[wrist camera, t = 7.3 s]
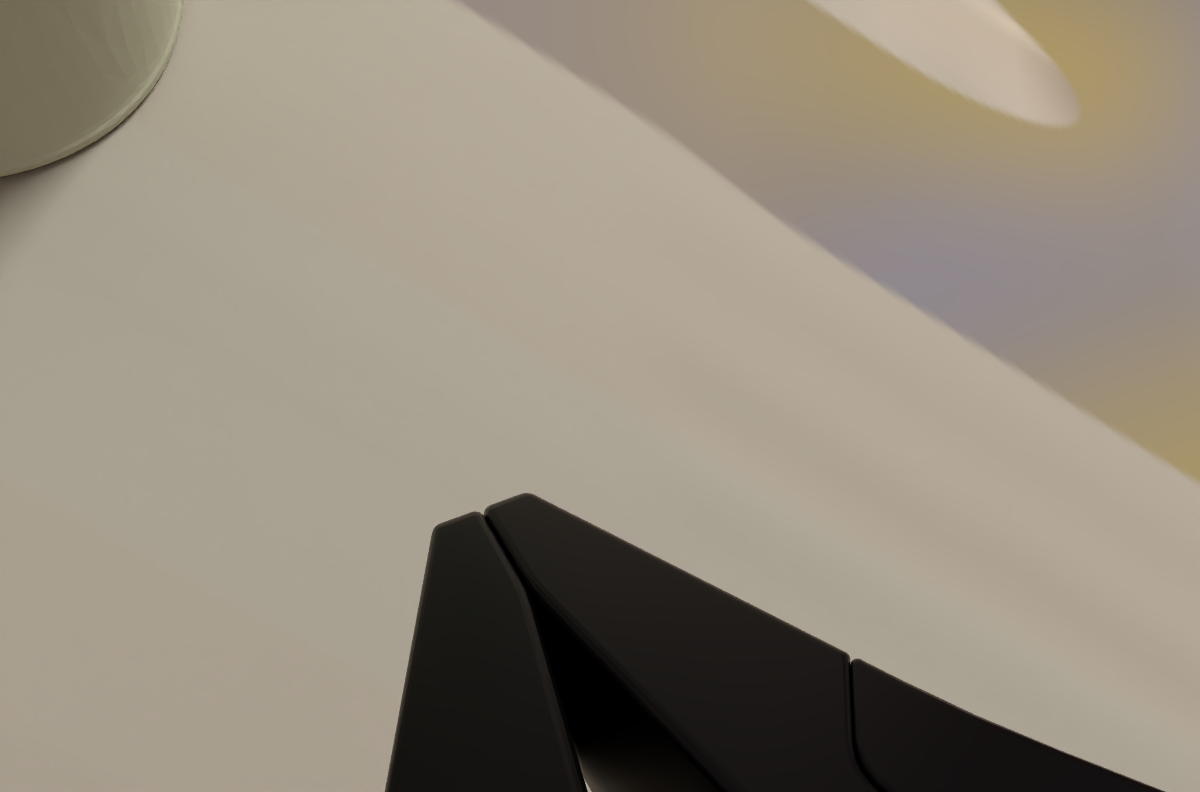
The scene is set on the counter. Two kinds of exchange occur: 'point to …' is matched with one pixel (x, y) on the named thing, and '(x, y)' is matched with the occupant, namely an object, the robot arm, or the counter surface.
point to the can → (76, 71)
